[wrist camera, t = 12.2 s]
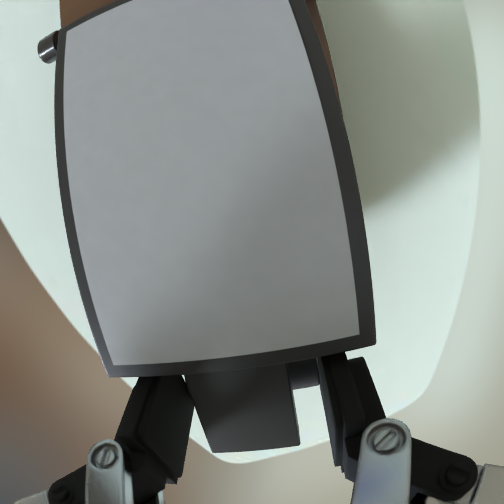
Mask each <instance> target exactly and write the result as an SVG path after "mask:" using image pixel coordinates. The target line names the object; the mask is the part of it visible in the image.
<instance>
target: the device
mask: <svg viewBox="0 0 504 504" xmlns="http://www.w3.org/2000/svg"><path fill="white" fill-rule="evenodd" d="M54 110H55V142H56V157H57V168H58V178H59V187H60V195H61V202H62V209H63V216H64V222H65V227H66V233H67V238H68V243H69V248H70V253H71V258H72V262H73V267H74V271H75V275H76V279H77V283H78V287H79V291H80V294H81V298H82V301H83V305H84V308H85V312H86V315H87V318H88V322H89V325H90V328H91V331H92V334H93V337H94V340H95V343H96V346H97V349H98V351H99V354H100V357H101V360H102V362H103V365H104V368H105V370H106V373H107V375H108V376H109V377H150V376H171V375H184V376H185V382H186V387H187V390H188V393H189V395H190V396H191V398H192V400H193V403H194V406H195V408H196V411H197V414H198V417H199V419H200V422H201V425H202V427H203V430H204V433H205V435H206V438H207V441H208V443H209V446H210V448H211V451H212V452H213V453H224V452H243V451H256V450H267V449H276V448H284V447H292V446H299V445H300V436H299V426H298V420H297V414H296V408H295V402H294V396H293V390H294V389H300V388H306V387H312V386H317V385H319V383H320V379H319V370H318V362H317V357H322V356H327V355H332V354H337V353H342V352H346V351H351V350H355V349H360V348H364V347H368V346H372V345H375V344H376V328H375V313H374V300H373V289H372V279H371V270H370V261H369V253H368V245H367V238H366V231H365V225H364V218H363V212H362V206H361V200H360V195H359V189H358V184H357V179H356V174H355V169H354V164H353V159H352V155H351V150H350V146H349V141H348V137H347V133H346V129H345V125H344V121H343V117H342V113H341V109H340V105H339V102H338V98H337V95H336V91H335V88H334V84H333V81H332V77H331V74H330V71H329V68H328V64H327V61H326V58H325V55H324V52H323V49H322V46H321V43H320V40H319V37H318V35H317V32H316V29H315V26H314V24H313V21H312V18H311V16H310V13H309V10H308V8H307V5H306V3H305V0H117V1H114V2H112V3H110V4H108V5H105V6H103V7H101V8H99V9H97V10H95V11H93V12H91V13H89V14H87V15H85V16H83V17H81V18H79V19H77V20H75V21H74V22H72V23H70V24H68V25H66V26H65V27H63V28H61V29H60V30H59V35H58V44H57V55H56V69H55V100H54Z"/></svg>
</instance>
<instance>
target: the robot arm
mask: <svg viewBox="0 0 504 504" xmlns="http://www.w3.org/2000/svg"><path fill="white" fill-rule="evenodd" d="M317 362H318V370H319V379H320V390H321V395H322V400H323V405H324V410H325V416H326V421H327V426H328V432H329V437H330V443H331V448H332V454H333V459H334V465H335V466H341V470H342V473H343V472H344V473H345V478H346V479H348V480H350V481H352V482H354V486H353V492H352V498H351V503H350V504H504V466H497V465H491V464H485V465H484V466H481V465H476V463H475V462H474V461H473V460H472V459H471V458H469V457H467V456H464V455H461V454H458V453H454V452H452V451H449V450H446V449H443V448H440V447H437V446H434V445H431V444H428V443H425V442H423V441H420V440H418V439H415V438H412V437H411V433H410V430H409V428H408V427H407V425H405V424H404V423H403V422H402V421H399V420H397V419H391V418H386V416H385V413H384V410H383V408H382V405H381V402H380V399H379V396H378V394H377V391H376V388H375V385H374V383H373V380H372V377H371V375H370V372H369V369H368V367H367V364H366V362H365V359H364V358H363V357H358V358H354V359H349V360H347V357H346V354H345V352H342V353H337V354H332V355H327V356H322V357H317ZM193 411H194V403H193V400H192V398H191V396H190V395H189V393H188V390H187V387H186V383H185V381H184V379H183V377H182V375H171V376H150V377H139V378H138V381H137V383H136V385H135V386H134V388H133V390H132V393H131V395H130V398H129V401H128V404H127V406H126V409H125V411H124V414H123V417H122V420H121V422H120V425H119V428H118V430H117V433H116V436H115V439H114V441H113V440H102V441H99V442H97V443H96V444H94V445H93V446H92V447H91V449H90V450H89V452H88V456H87V464H86V465H84V466H82V467H81V468H79V469H77V470H76V471H74V472H72V473H70V474H68V475H66V476H65V477H63V478H61V479H59V480H57V481H56V482H55V483H53V484H52V486H51V487H50V489H49V492H48V491H46V490H45V491H42V492H39V493H37V494H34V495H31V496H29V497H26V498H23V499H20V500H17V501H15V502H14V503H13V504H165V500H164V494H163V489H165V484H166V483H168V484H177V480H178V478H179V477H181V476H182V473H183V467H184V461H185V455H186V449H187V444H188V438H189V433H190V427H191V422H192V416H193Z"/></svg>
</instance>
